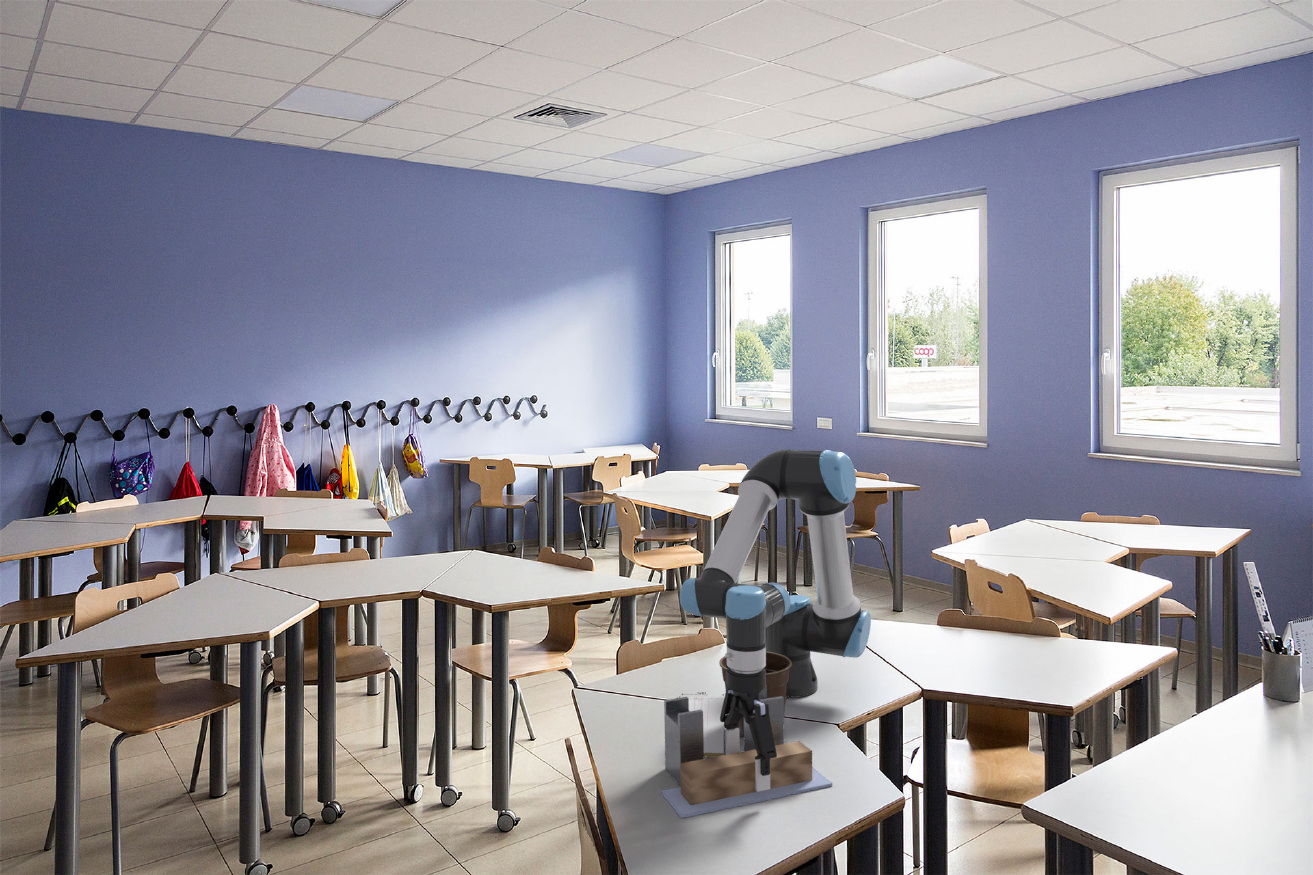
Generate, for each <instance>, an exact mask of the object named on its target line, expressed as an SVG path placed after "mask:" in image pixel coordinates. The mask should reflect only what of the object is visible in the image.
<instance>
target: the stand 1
mask: <svg viewBox="0 0 1313 875" xmlns="http://www.w3.org/2000/svg"><path fill="white" fill-rule="evenodd" d="M663 706H664V708H663V709H664V710H663V711H664V712H663V714H664V715H663V716H664V749H665V750H664V757H665V758H664V759H665V760H664V762H665V763H664V764H665V765H664V766H665V767H664V768H665V770H666V771H667V773H669V775H670V776H671V778H673V779H674V781H675V782H676V783H677V784H678V785H679V787H681V772H680V763H685V762H691V761H696V760H701V759H705V757H704V737H703V711H702V710H695V711H689V698H688V696H680V698H679V697H678V698H677V697H676V698H669V699H664V701H663Z"/></svg>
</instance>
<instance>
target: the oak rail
mask: <svg viewBox="0 0 1313 875" xmlns="http://www.w3.org/2000/svg"><path fill="white" fill-rule="evenodd" d="M775 748H776V753H777V757H776V758H771V759H770V789H773V788H778V787H782V786H787V785H792V784H797V783H802V782H806V781H811V780H812V767H813V750H812V749H810V748H809V747H808V746H806V745H805V744H804V743H803V742H802V741H801V740H799V741H798V740H797V741H793V742H792V741H791V742H788V743H784V744H781V745H775ZM756 756H757V751H756V749H754V750H749V751H744V750H743V751H740V752H738V753H733V754H728V755H726V754H724V755H722V756H717V757H706V758H704V759H701V760H696V761H691V762H685V763H680V772H681V786H680V787H681V794H682V796H683V797H684V798H685V799H686V800H687V801H688V803H689V804H690V805H696V804H701V803H705V802H710V801H715V800H720V799H725V798H729V797H734V796H739V795H744V794H749V793H753V792H757V791H756V773H755V757H756Z"/></svg>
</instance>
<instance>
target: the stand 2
mask: <svg viewBox="0 0 1313 875" xmlns="http://www.w3.org/2000/svg"><path fill="white" fill-rule="evenodd" d="M759 697H760V702H761V703H766V702H767V703H768V705H769V718H770V723H771V728H772V733H773V738H774V743H775V745H781V744H785V715H784V698H783V697H782V696H779V697H773V698H767V686H766V687H765V688H764V689H763V690H762V691H761V692H760V693H759ZM754 717H755V716H754ZM754 749H756V748H755V744H754V741H753V737H752V734H751V731H750V727H749V724H747V723H746V722H745V719H744V738H743V752H744V751H749V750H754Z"/></svg>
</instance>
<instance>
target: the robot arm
mask: <svg viewBox="0 0 1313 875" xmlns="http://www.w3.org/2000/svg"><path fill="white" fill-rule="evenodd" d="M856 484H857V476H856V470H855V466H854V464H853V462H852V459H851V458H850V457H849V456H848V455H847V454H846V453H844V452H841V451H832V450H830V449H828V450H827V449H825V450H806V449H803V450H801V449H779V450H776V451H773V452H771V453H769V454H767V455H766V456H764V457H762V458H761V459H759V460H758V461H757V462H756V463H755V464H754V465H753V466H752V467H751V468H750V469H749V470H748V471H747V472H746V474H744V476H743V478H742V479H741V482H740V483H739V486H738V488H737V495H738V498H737V499H736V502H735V503H734V506H733V508H732V510H731V512H730V514H729V516H728V519H727V521H726V523H725V525H724V527H723V529H722V531H721V533H720V535H719V537H718V539H717V541H716V544H715V546H714V547H713V550H712V551H711V554H710V556H709V558H708V560H707V562H706V564H705V566H704V568H703V570H702V572H701V574H700V576H699V578H698V577H693V578H692V577H689V578H687V579H686V580H685V581H684V582H683V583H682V586H681V589H680V592H679V602H680V605H681V608H682V610H683V611H684V612H685V613H688V614H690V615H694V616H699V617H708V618H715V619H717V618H718V619H724V620H725V625H726V626H725V628H726V629H725V630H726V631H725V632H726V634H725V635H726V653H725V654H724V656H725V657H726V658H727V666H728V668H727V683H726V688H725V693H724V696H723V698H724V702H723V706H722V711H721V715H720V721H721V722H724V730H725V755H728V754H733V753H738V752H741V751H740V750H741V749H740V748H741V746H740V743H741V741H740V740H741V739H740V738H739V729H738V728H735V727H738V726H740V724H739V721H740V719H741V717H742V715H743V716H744V719H745V722H746V723H747V724H749V727H750V731H751V734H752V737H753V741H754V744H755V748H756V751H757V756H756V757H755V773H756V791H757V792H759V791H764V790H769V789H770V759H771V758H776V757H777V753H776V748H775V743H774V738H773V733H772V728H771V723H770V718H769V705H768V703H767V702H766V703H761V702H760V697H759V693H760V692H761V691H762V690H763V689H764V688H765V687H766V670H765V669H764V667H765V666H766V652H773V653H777V654H781V655H784V656H786V657H787V658H789V659H790V660H791V662H792V666H791V667H790V670H789V680H788V682H787V689H786V698H799V697H802V698H803V697H807V696H809V695H812V694H815V692H817V691H818V687H819V686H818V685H819V684H818V681H819V680H818V677H817V675H816V674H817V673H816V670H815V667H814V665H813V661H812V658H811V653H817V654H818V653H819V654H825V655H831V656H838V657H839V656H840V657H842V658H856V659H857V658H859V657H861V656H862V655H863V654H864V652H865V650H866V647H867V645H868V641H869V637H870V632H871V624H872V622H871V621H872V620H871V619H872V616H871V613H870V612H869V611H868V610H866V609H863V610H862V605H861V601H860V599H859V598H858V597H856V596H855V595H854V591H853V590H854V589H853V581H852V574H851V562H850V554H849V547H848V539H847V538H848V537H847V528H846V527H847V526H846V521H845V518H846V517H845V512H846V511H847V509H848V508H849V507H850V503H851V502H852V501H853V500H854V499H855V496H856V494H857V493H856V492H857V486H856ZM786 499H787V500H795V501H796V500H797V501H798V507H799V512H801V513H802V514H804V515H805V516H806V519H807V524H808V525H807V526H808V534H809V541H810V543H809V544H810V549H811V558H812V563H813V564H812V565H813V571H814V580H815V581H814V582H815V588H816V594H817V598H816V599H815V600H814V601H813V604H812V601H811V598H810V597H809V596H806V595H804V594H803V595H800V594H795V595H794V594H792V595H790V593H789V592H788V591H787V589H786V588H785V587H784V586H783V585H781V584H780V583H777V582H766V583H763V584H761V585H754V584H748V583H747V584H743V583H737V582H738V581H739V577H740V575H741V573H742V571H743V569H744V566H745V564H746V561H748V557H749V555H750V553H751V552H752V548H753V546H754V544H755V542H756V540H757V539H758V538H757V537H758V535H759V533H760V530H761V528H762V526H763V524H764V521H765V520H766V517H767V515H768V512H769V511H771V510H773V509H774V508H775V507H776V506H777V504H778V502H779V501H780V500H786ZM754 716H755V717H754Z"/></svg>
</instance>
